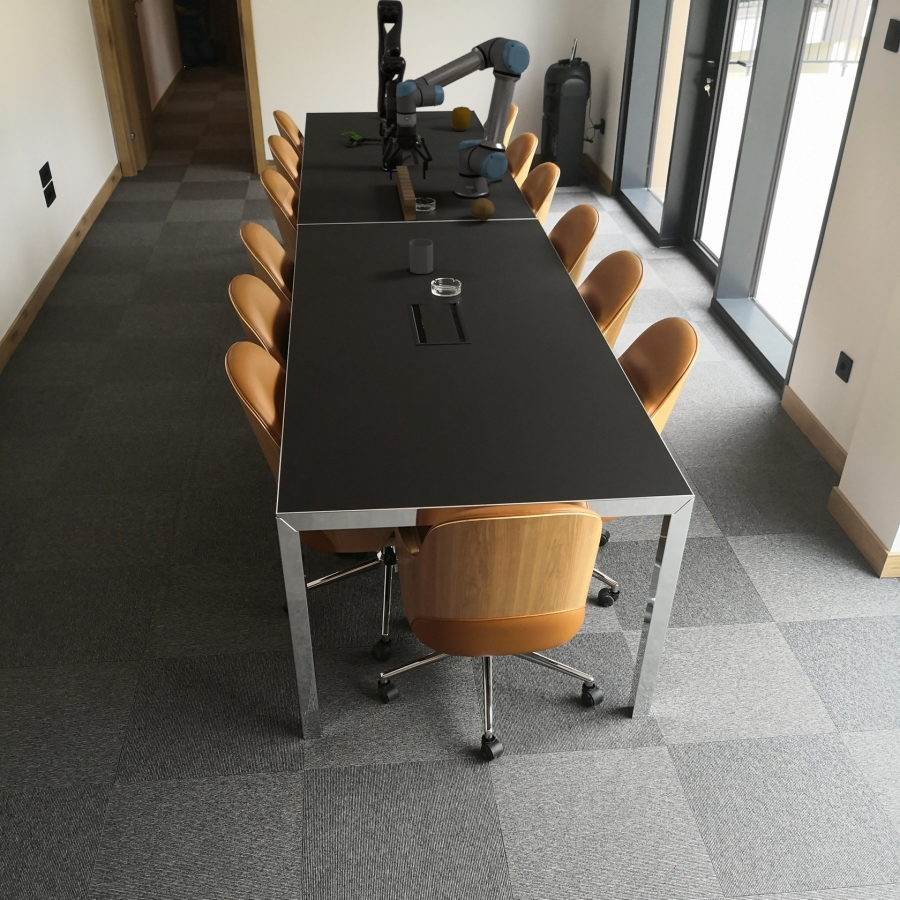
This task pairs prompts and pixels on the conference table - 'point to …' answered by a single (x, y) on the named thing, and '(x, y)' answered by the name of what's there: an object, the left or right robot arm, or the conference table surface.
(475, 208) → the potato
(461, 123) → the apple
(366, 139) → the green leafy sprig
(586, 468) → the conference table surface
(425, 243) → the cup
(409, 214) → the post
